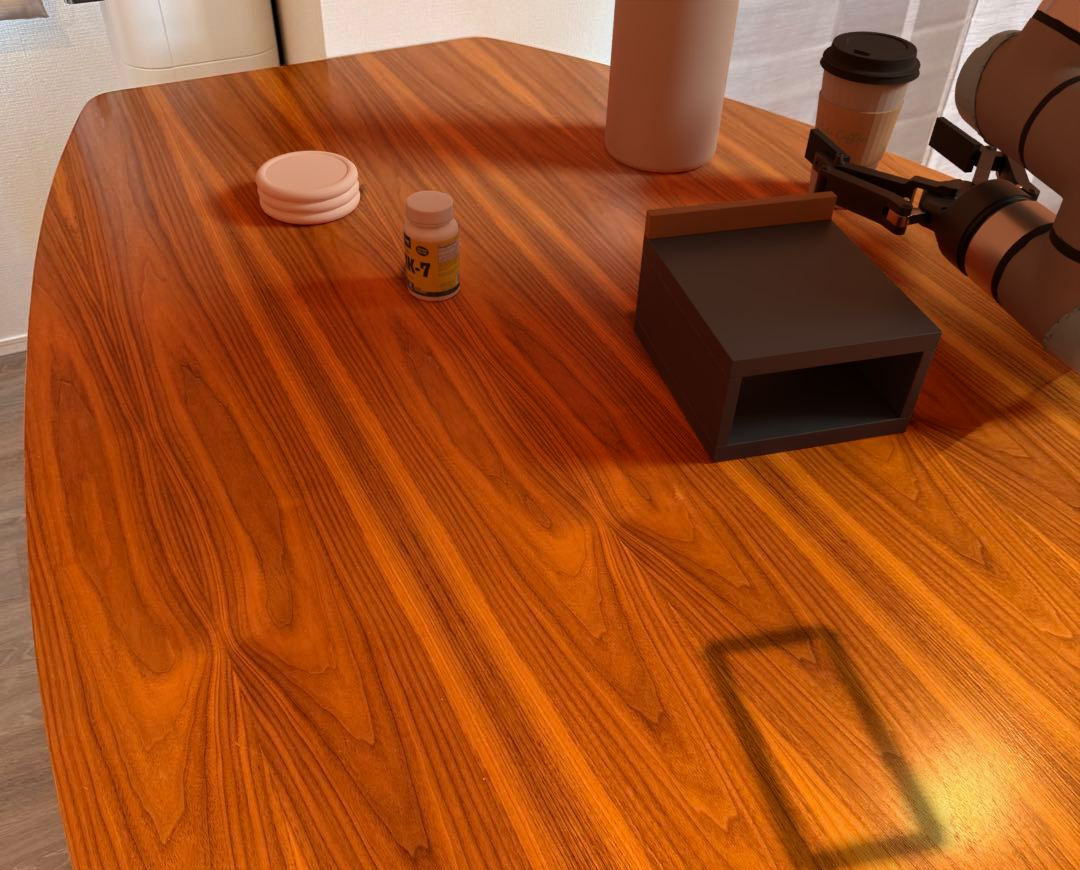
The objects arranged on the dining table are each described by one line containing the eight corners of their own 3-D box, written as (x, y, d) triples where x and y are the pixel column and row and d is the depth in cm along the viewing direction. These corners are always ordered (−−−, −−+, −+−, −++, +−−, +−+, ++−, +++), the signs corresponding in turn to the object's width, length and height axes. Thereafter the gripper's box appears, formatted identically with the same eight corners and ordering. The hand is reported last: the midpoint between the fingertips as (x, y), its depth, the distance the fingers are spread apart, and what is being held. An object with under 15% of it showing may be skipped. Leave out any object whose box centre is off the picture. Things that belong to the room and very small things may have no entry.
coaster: (245, 220, 96) (238, 186, 93) (282, 177, 103) (276, 144, 100) (342, 232, 95) (338, 197, 92) (373, 187, 102) (369, 153, 99)
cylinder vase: (629, 120, 116) (651, -131, 98) (729, 142, 112) (772, -114, 94) (586, 160, 108) (602, -106, 90) (692, 185, 104) (731, -87, 86)
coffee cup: (789, 209, 100) (822, 56, 90) (794, 171, 107) (826, 24, 96) (882, 222, 99) (928, 67, 88) (882, 182, 106) (924, 34, 95)
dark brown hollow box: (905, 432, 75) (952, 306, 67) (712, 463, 72) (737, 335, 64) (802, 308, 87) (831, 190, 79) (633, 330, 84) (646, 209, 76)
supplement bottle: (396, 287, 88) (389, 198, 82) (436, 270, 90) (432, 182, 84) (431, 309, 85) (425, 219, 79) (471, 290, 88) (469, 201, 82)
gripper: (855, 299, 80) (749, 186, 95) (1110, 265, 85) (973, 163, 100) (880, 213, 75) (764, 107, 89) (1150, 182, 80) (999, 87, 94)
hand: (874, 136), depth 95 cm, fingers open, 13 cm apart
